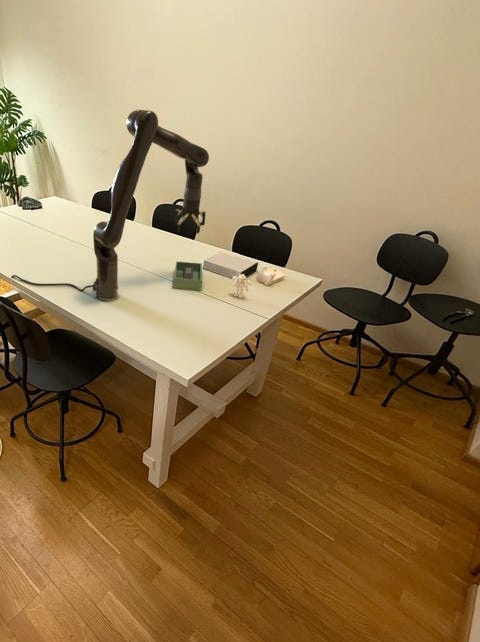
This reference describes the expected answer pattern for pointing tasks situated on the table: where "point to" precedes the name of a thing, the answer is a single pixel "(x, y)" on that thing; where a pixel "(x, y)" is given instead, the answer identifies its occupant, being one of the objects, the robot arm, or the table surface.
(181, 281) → the bin
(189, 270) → the block
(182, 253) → the table surface
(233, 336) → the table surface
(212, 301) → the table surface
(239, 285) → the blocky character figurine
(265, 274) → the cream lumpy rounded piece
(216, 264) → the disc drive
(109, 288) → the robot arm
